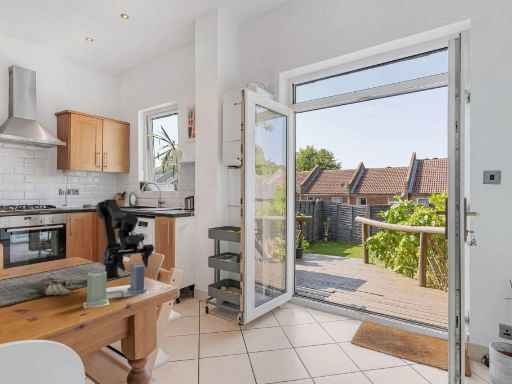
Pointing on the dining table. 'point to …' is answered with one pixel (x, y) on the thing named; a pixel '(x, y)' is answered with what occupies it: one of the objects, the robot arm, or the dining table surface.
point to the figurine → (54, 286)
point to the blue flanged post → (137, 279)
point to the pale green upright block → (96, 289)
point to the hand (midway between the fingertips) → (135, 269)
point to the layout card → (115, 294)
